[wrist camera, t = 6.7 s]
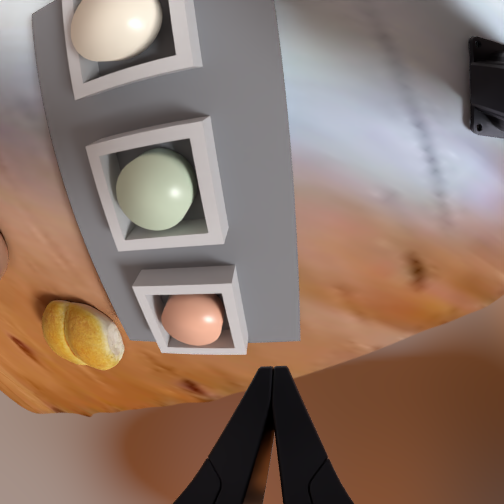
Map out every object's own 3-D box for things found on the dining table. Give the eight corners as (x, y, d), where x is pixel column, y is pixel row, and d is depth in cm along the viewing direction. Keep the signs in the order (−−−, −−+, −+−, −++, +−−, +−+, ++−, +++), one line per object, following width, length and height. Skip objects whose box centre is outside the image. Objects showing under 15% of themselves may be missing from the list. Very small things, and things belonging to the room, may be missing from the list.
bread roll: (39, 292, 26) (19, 318, 22) (110, 300, 25) (91, 333, 22) (68, 347, 30) (54, 373, 27) (134, 359, 30) (122, 390, 26)
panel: (264, -51, 10) (261, -78, 7) (299, 321, 24) (301, 359, 21) (50, 15, 12) (13, 14, 9) (137, 323, 26) (123, 356, 23)
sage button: (189, 142, 15) (180, 151, 13) (203, 212, 17) (196, 227, 16) (121, 155, 15) (107, 164, 14) (139, 219, 18) (128, 233, 16)
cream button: (158, -23, 9) (144, -32, 8) (167, 48, 11) (154, 46, 10) (86, 4, 10) (67, 0, 8) (94, 70, 12) (76, 73, 10)
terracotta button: (218, 284, 20) (214, 302, 18) (229, 327, 22) (226, 345, 20) (161, 286, 20) (153, 302, 19) (176, 327, 22) (171, 344, 21)
